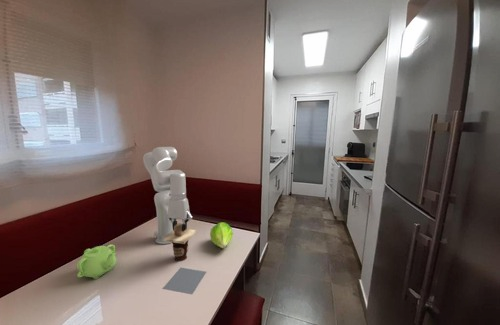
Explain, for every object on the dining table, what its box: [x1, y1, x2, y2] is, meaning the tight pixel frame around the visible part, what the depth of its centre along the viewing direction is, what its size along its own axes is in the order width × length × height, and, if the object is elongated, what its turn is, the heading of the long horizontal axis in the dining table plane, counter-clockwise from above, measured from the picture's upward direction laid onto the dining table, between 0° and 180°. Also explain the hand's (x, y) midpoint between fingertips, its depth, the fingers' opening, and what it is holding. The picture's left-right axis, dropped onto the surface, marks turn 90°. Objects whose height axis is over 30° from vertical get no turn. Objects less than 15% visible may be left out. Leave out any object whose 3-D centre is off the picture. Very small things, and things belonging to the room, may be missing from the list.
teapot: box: [76, 244, 117, 280], centre depth 95 cm, size 16×14×13 cm
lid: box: [163, 222, 197, 244], centre depth 104 cm, size 12×12×6 cm
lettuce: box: [209, 221, 234, 249], centre depth 118 cm, size 14×20×12 cm
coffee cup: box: [172, 240, 189, 262], centre depth 105 cm, size 9×8×13 cm
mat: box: [162, 267, 207, 295], centre depth 90 cm, size 14×14×1 cm
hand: (179, 229), depth 104 cm, fingers open, 4 cm apart
